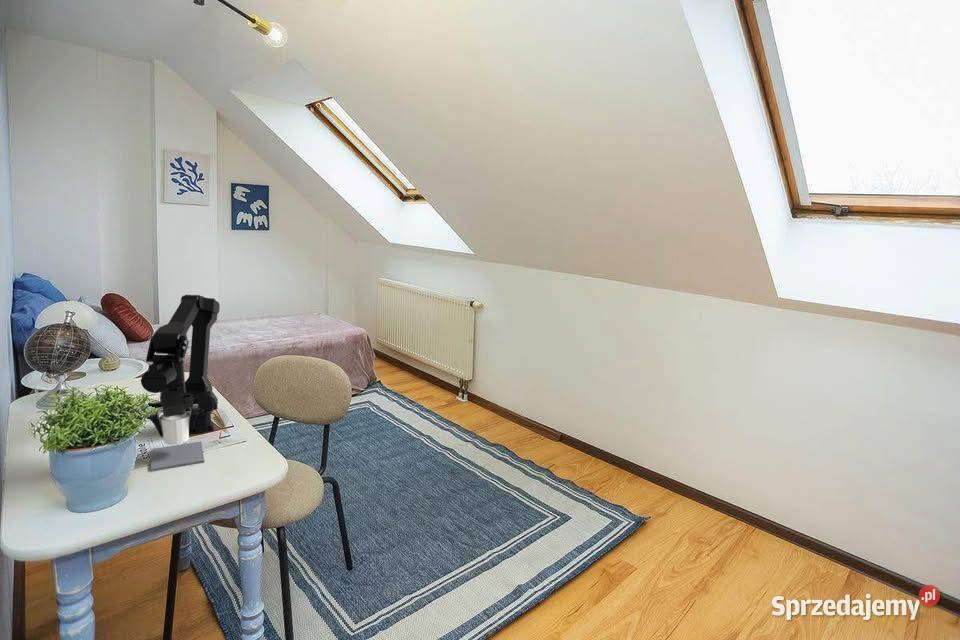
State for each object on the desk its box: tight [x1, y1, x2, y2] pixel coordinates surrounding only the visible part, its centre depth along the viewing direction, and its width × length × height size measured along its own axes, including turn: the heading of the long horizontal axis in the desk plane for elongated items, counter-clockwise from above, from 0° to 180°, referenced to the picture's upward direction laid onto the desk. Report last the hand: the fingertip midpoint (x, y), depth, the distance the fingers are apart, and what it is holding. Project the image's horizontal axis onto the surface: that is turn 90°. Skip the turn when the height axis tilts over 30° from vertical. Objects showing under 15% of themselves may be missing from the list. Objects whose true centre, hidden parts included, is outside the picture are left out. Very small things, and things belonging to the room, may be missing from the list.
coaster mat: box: [150, 441, 205, 472], centre depth 144 cm, size 12×12×1 cm
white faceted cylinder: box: [159, 411, 190, 446], centre depth 143 cm, size 7×7×7 cm
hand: (176, 434), depth 143 cm, fingers closed on white faceted cylinder, 6 cm apart
